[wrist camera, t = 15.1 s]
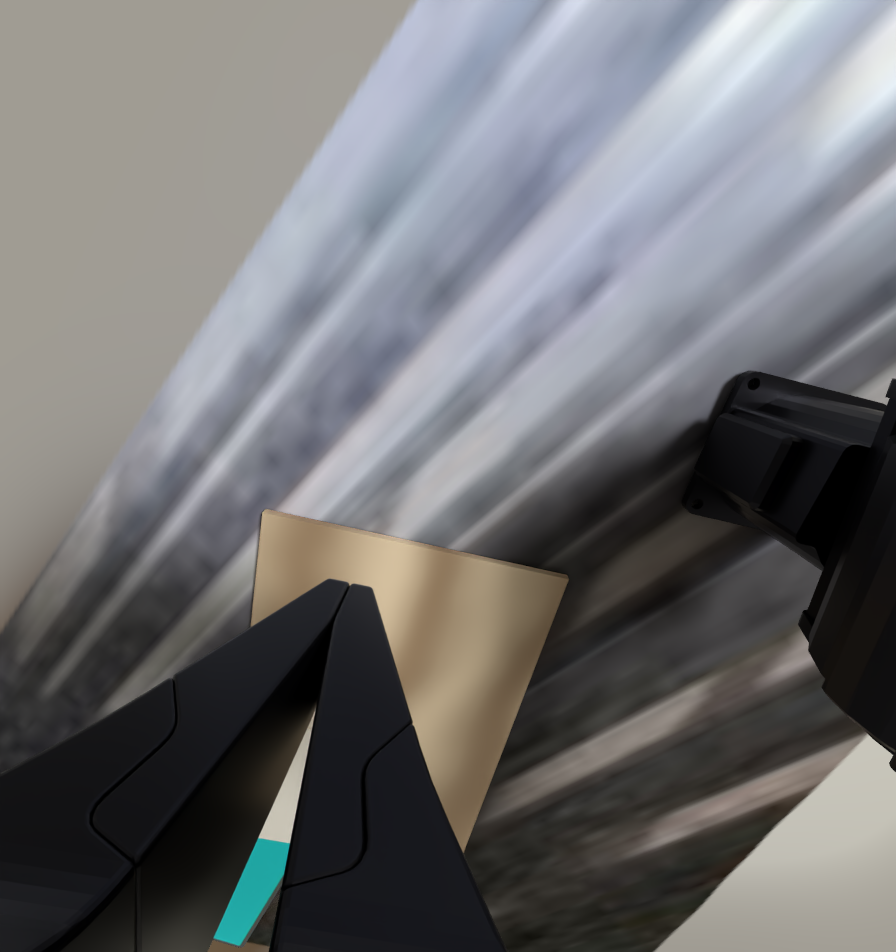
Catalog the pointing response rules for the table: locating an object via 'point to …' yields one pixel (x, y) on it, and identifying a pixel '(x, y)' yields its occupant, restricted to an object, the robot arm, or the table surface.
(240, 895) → the smartphone
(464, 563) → the mat
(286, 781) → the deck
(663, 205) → the table surface
